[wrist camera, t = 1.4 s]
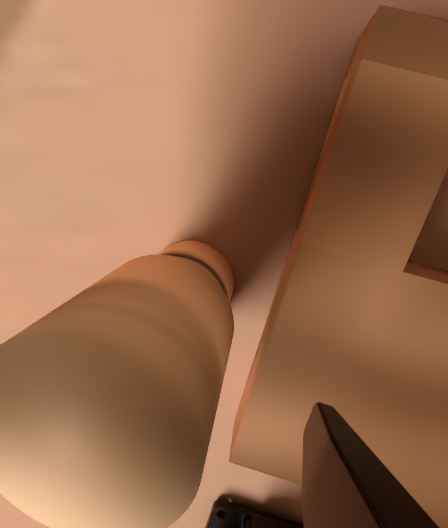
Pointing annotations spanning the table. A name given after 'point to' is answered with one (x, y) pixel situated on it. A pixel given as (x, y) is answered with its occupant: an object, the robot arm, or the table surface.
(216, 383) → the peg
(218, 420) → the table surface
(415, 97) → the board
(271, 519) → the robot arm
